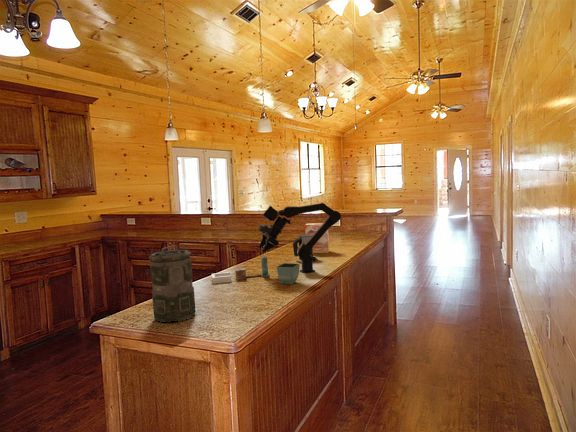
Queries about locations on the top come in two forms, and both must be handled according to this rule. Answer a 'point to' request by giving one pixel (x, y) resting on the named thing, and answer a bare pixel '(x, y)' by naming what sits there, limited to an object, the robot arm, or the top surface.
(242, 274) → the tethered block
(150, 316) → the top surface
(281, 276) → the flower pot
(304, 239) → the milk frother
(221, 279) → the lane
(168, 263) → the canister
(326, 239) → the coffeecake box
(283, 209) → the robot arm
